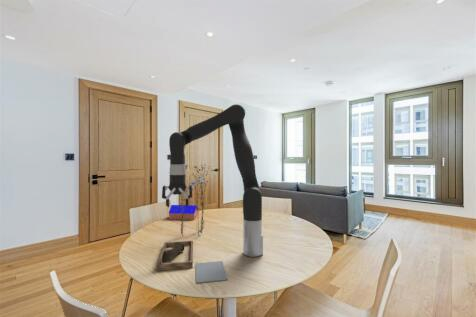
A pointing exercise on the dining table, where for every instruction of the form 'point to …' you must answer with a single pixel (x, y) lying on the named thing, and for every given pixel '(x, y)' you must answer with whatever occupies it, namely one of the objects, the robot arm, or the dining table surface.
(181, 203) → the wildflower
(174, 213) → the house
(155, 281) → the dining table surface
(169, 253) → the hand tool
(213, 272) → the mat
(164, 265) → the wooden frame
